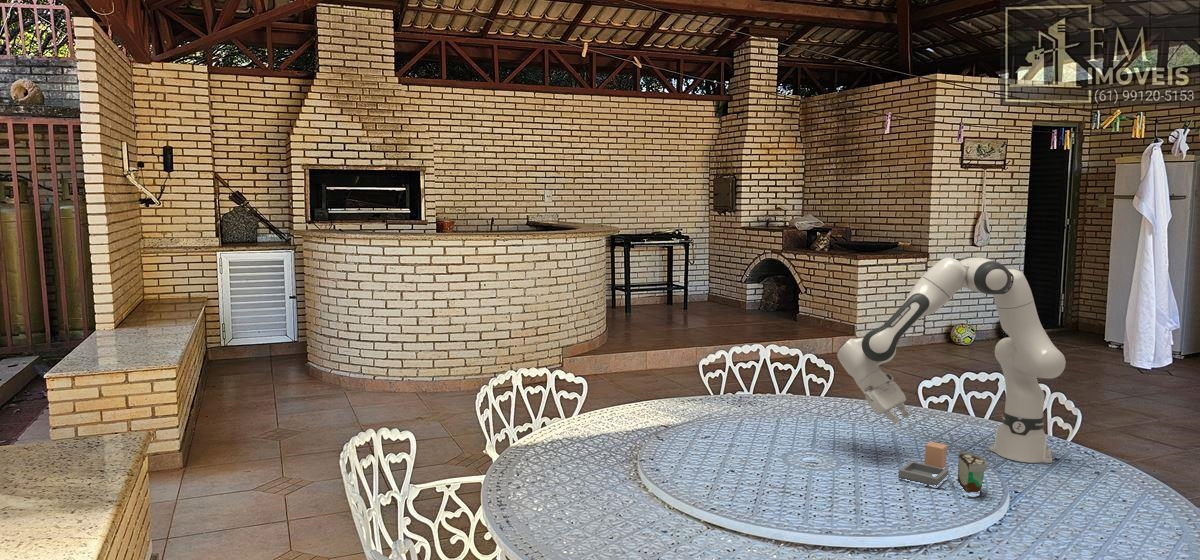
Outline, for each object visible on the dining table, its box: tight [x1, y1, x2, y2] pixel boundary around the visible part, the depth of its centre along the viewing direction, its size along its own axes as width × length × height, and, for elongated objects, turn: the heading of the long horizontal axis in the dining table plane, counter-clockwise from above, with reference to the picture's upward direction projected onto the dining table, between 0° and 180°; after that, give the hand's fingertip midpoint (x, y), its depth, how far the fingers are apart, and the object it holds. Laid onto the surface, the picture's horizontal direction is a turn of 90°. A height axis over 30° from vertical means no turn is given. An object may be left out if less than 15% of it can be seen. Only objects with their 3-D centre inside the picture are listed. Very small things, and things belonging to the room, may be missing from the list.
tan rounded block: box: [923, 441, 948, 468], centre depth 239 cm, size 5×5×8 cm
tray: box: [897, 460, 949, 486], centre depth 230 cm, size 11×11×3 cm
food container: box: [957, 451, 988, 493], centre depth 221 cm, size 12×6×10 cm, turn 168°
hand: (902, 419), depth 245 cm, fingers open, 8 cm apart
